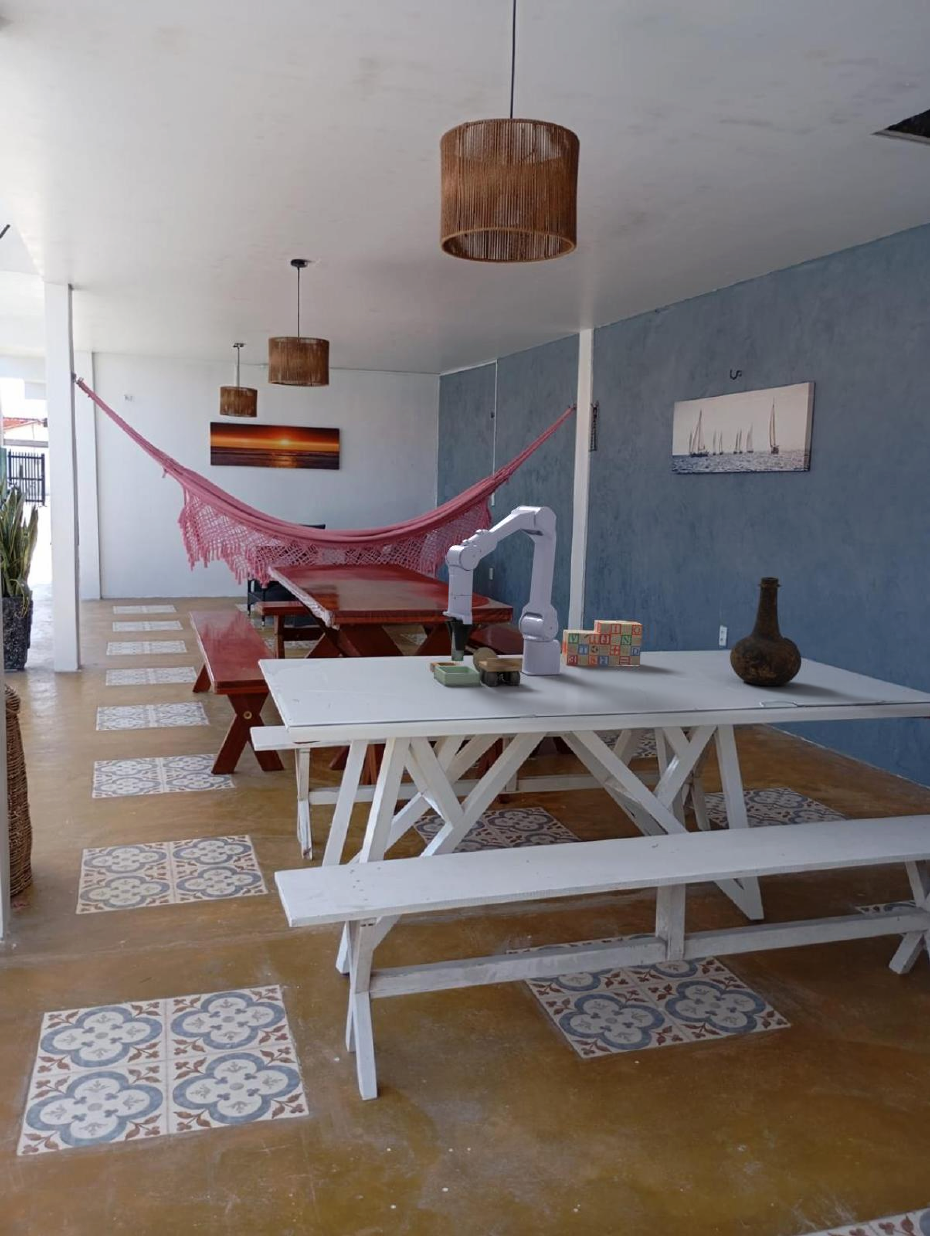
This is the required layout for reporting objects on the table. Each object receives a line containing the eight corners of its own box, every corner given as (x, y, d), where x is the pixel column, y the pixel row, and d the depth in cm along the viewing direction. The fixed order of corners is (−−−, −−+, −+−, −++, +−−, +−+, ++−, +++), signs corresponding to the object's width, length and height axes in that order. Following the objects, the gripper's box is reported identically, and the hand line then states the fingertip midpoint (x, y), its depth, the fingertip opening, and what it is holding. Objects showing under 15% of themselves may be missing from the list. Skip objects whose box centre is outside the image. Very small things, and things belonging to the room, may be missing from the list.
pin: (461, 659, 242) (462, 629, 242) (465, 661, 240) (466, 631, 239) (449, 659, 242) (450, 629, 241) (453, 661, 239) (454, 631, 238)
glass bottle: (812, 690, 250) (822, 581, 247) (748, 690, 247) (757, 580, 243) (776, 676, 268) (785, 575, 264) (716, 676, 264) (724, 573, 260)
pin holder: (455, 669, 258) (455, 661, 258) (462, 674, 252) (463, 666, 251) (429, 669, 256) (430, 661, 256) (436, 674, 250) (437, 666, 249)
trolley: (511, 680, 246) (512, 653, 245) (521, 686, 239) (523, 658, 238) (477, 680, 243) (478, 653, 242) (487, 687, 236) (488, 658, 235)
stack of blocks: (566, 665, 272) (568, 622, 270) (561, 661, 278) (563, 619, 276) (640, 667, 274) (643, 623, 273) (633, 663, 281) (636, 620, 279)
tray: (468, 677, 247) (468, 665, 247) (480, 685, 238) (480, 673, 238) (434, 678, 245) (434, 666, 244) (444, 686, 235) (445, 673, 235)
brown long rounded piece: (467, 670, 258) (468, 645, 257) (492, 670, 260) (494, 645, 259) (480, 681, 244) (481, 655, 243) (507, 681, 245) (508, 655, 244)
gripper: (436, 591, 244) (434, 644, 246) (453, 597, 230) (450, 654, 232) (463, 591, 246) (461, 644, 248) (481, 598, 233) (478, 654, 234)
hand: (458, 649), depth 240 cm, fingers closed on pin, 3 cm apart
